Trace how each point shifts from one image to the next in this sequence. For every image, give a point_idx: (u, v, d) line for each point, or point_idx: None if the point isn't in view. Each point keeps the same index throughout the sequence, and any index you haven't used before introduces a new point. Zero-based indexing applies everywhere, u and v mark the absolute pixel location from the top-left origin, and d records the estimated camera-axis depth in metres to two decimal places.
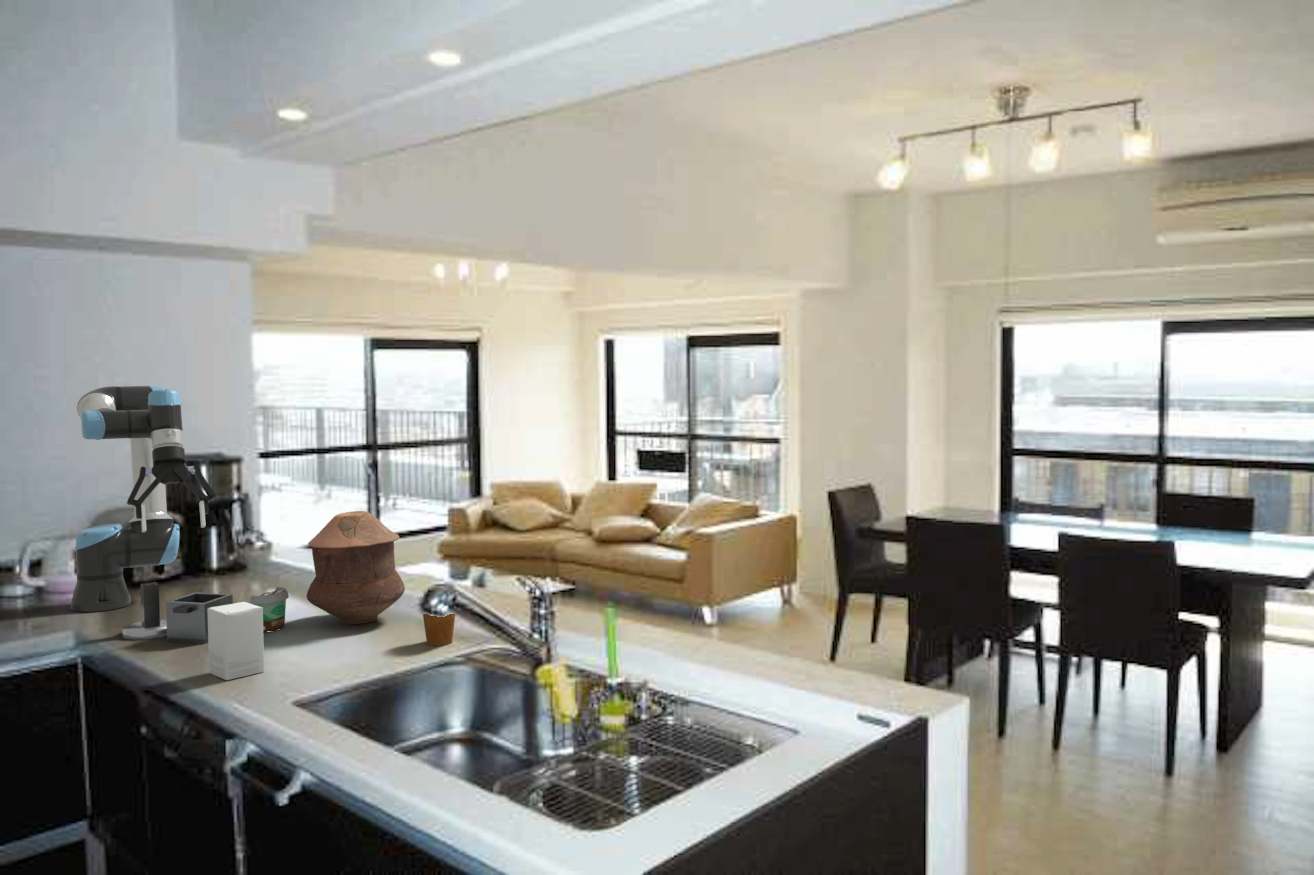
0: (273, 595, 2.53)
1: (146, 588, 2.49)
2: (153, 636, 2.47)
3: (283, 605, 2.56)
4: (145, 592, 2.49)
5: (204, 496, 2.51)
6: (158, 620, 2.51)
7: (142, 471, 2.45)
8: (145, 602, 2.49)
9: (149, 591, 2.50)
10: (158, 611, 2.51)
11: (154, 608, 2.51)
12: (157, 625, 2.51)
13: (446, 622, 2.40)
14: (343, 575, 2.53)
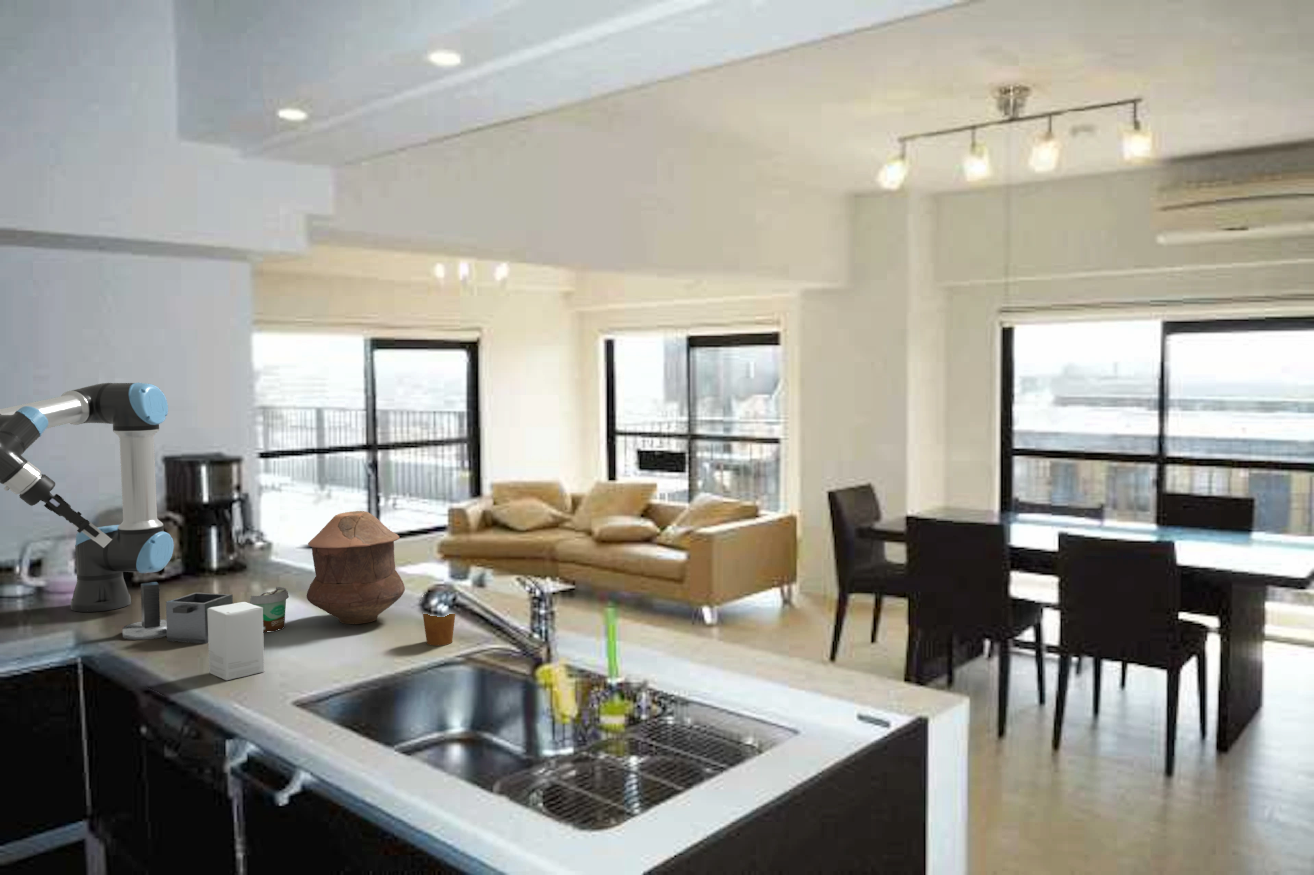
0: (273, 595, 2.53)
1: (146, 588, 2.49)
2: (153, 636, 2.47)
3: (283, 605, 2.56)
4: (145, 592, 2.49)
5: None
6: (158, 620, 2.51)
7: None
8: (145, 602, 2.49)
9: (149, 591, 2.50)
10: (158, 611, 2.51)
11: (154, 608, 2.51)
12: (157, 625, 2.51)
13: (446, 622, 2.40)
14: (343, 575, 2.53)
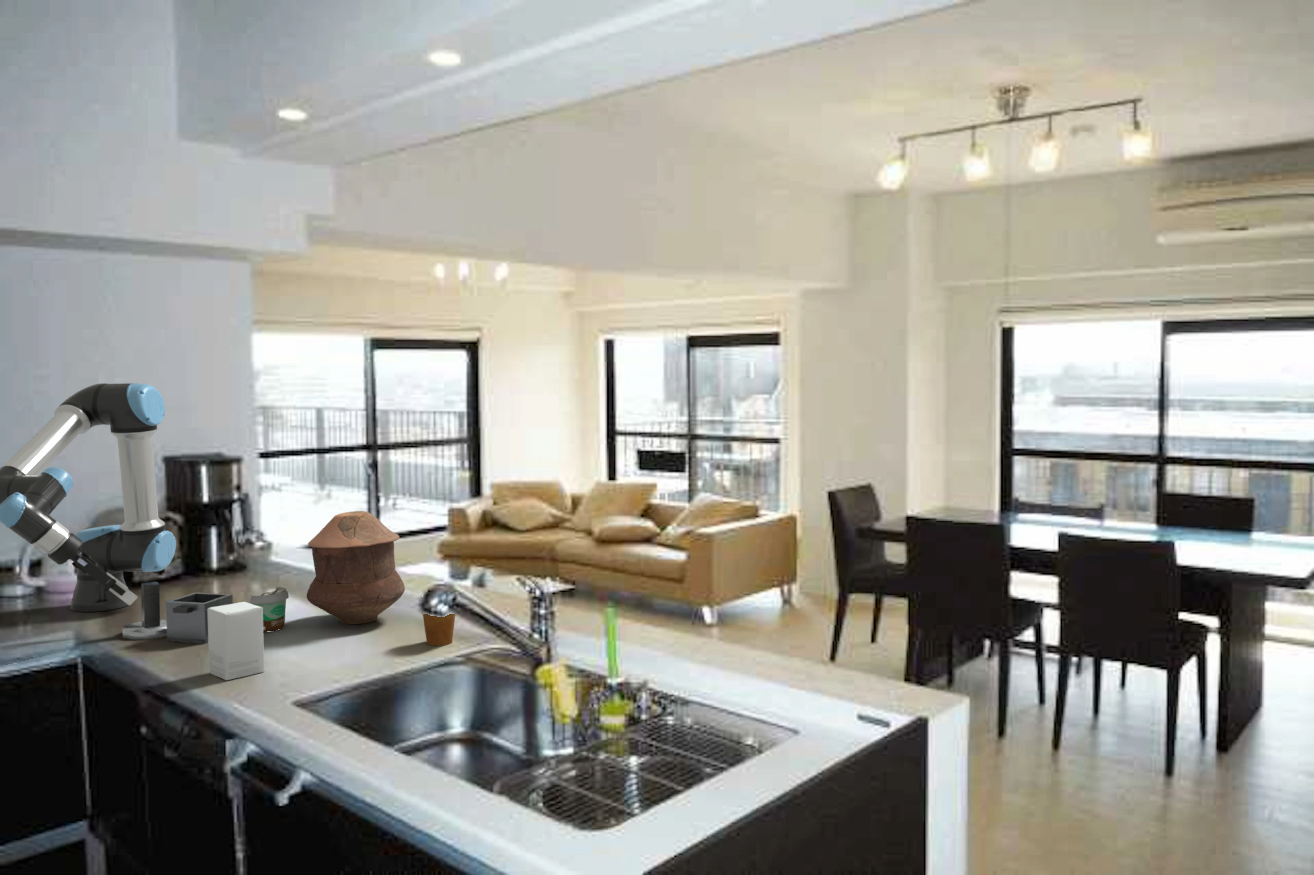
0: (273, 595, 2.53)
1: (147, 588, 2.49)
2: (153, 636, 2.47)
3: (283, 605, 2.56)
4: (145, 592, 2.49)
5: None
6: (158, 620, 2.51)
7: None
8: (145, 602, 2.49)
9: (149, 591, 2.50)
10: (158, 611, 2.51)
11: (154, 608, 2.51)
12: (157, 625, 2.51)
13: (446, 622, 2.40)
14: (343, 575, 2.53)
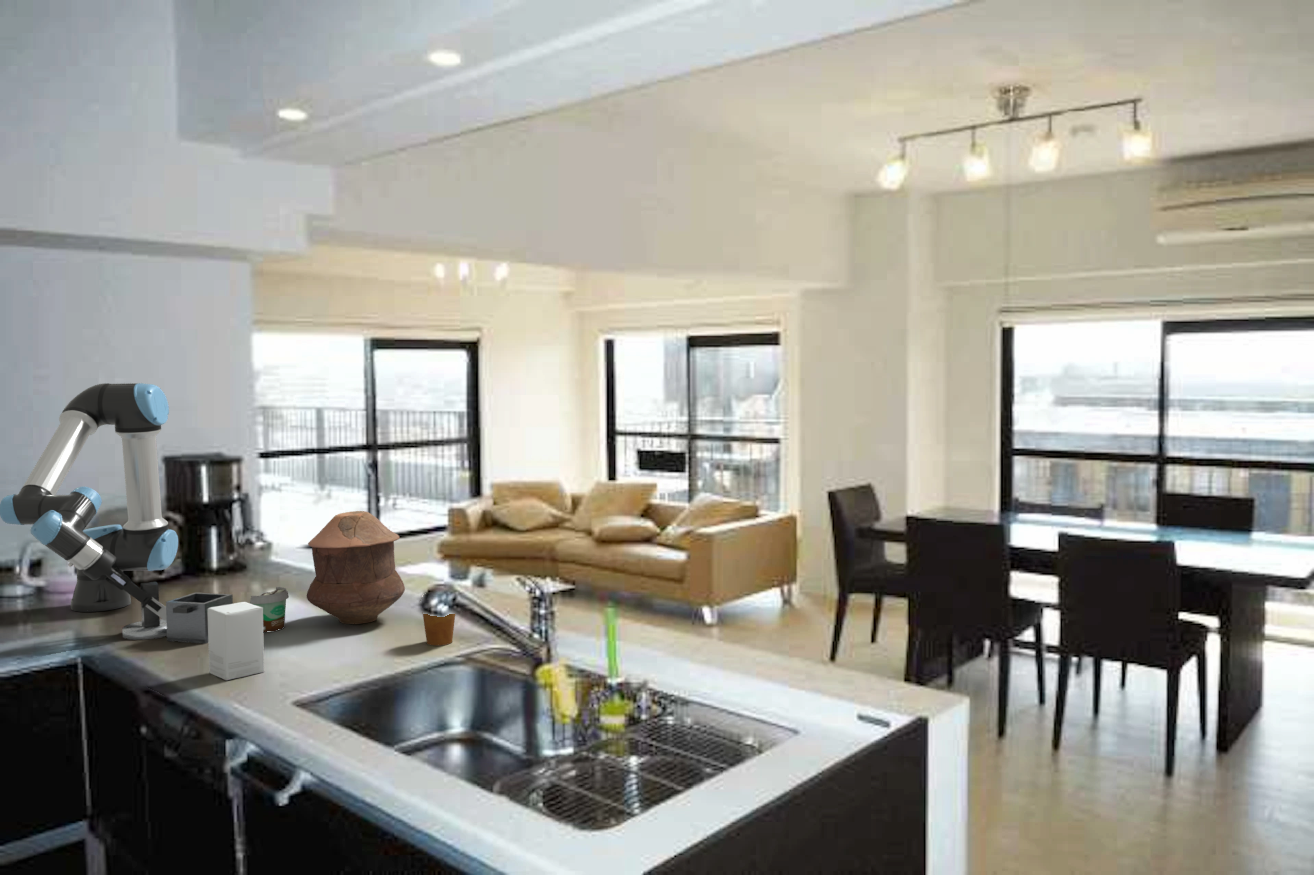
0: (273, 595, 2.53)
1: (146, 588, 2.49)
2: (152, 636, 2.47)
3: (283, 605, 2.56)
4: (145, 592, 2.49)
5: None
6: (158, 620, 2.51)
7: None
8: None
9: (149, 591, 2.50)
10: None
11: None
12: (157, 625, 2.51)
13: (446, 622, 2.40)
14: (343, 575, 2.53)
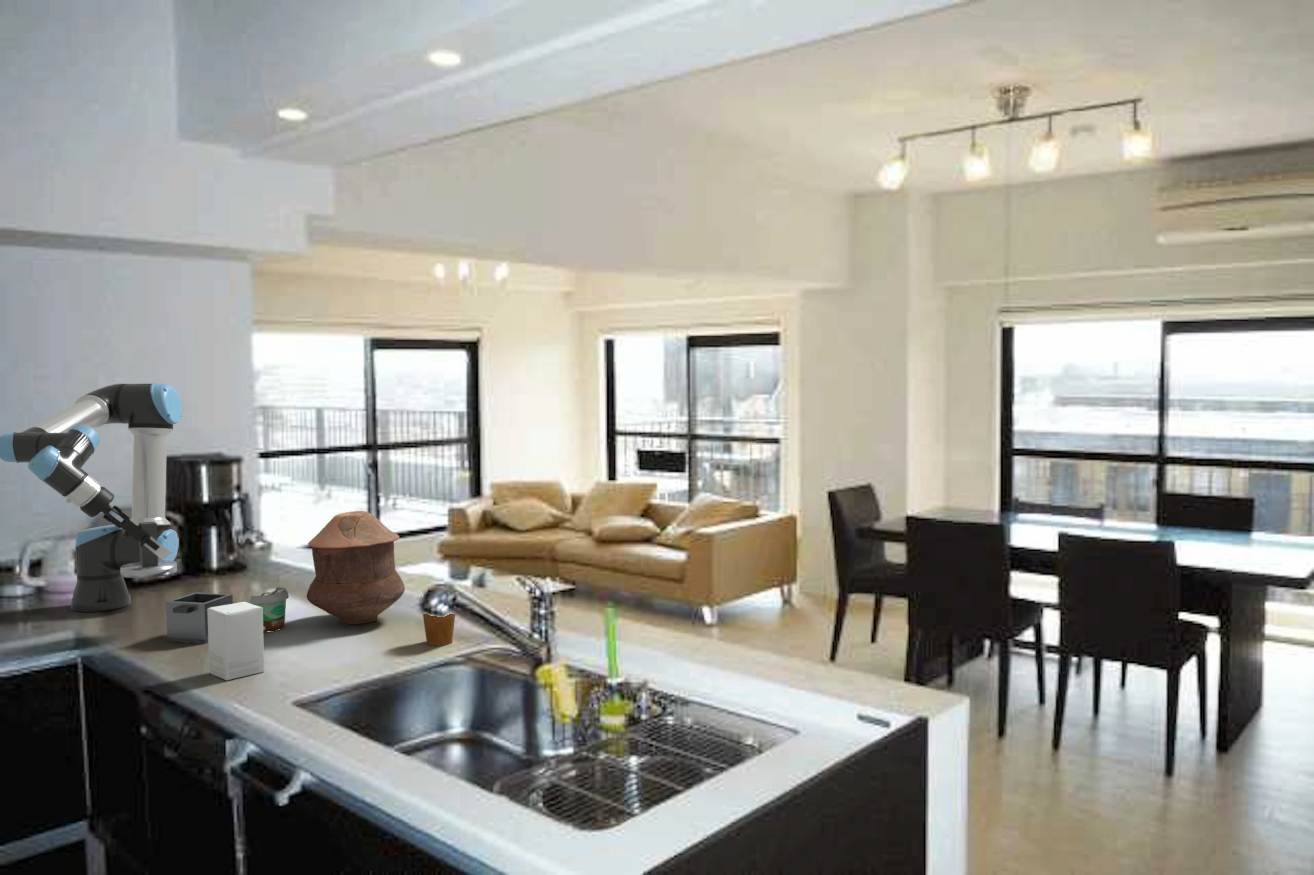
0: (273, 595, 2.53)
1: (144, 527, 2.48)
2: (151, 574, 2.46)
3: (283, 605, 2.56)
4: (143, 530, 2.48)
5: None
6: (156, 559, 2.50)
7: None
8: None
9: (147, 530, 2.49)
10: None
11: None
12: (155, 564, 2.50)
13: (446, 622, 2.40)
14: (343, 575, 2.53)
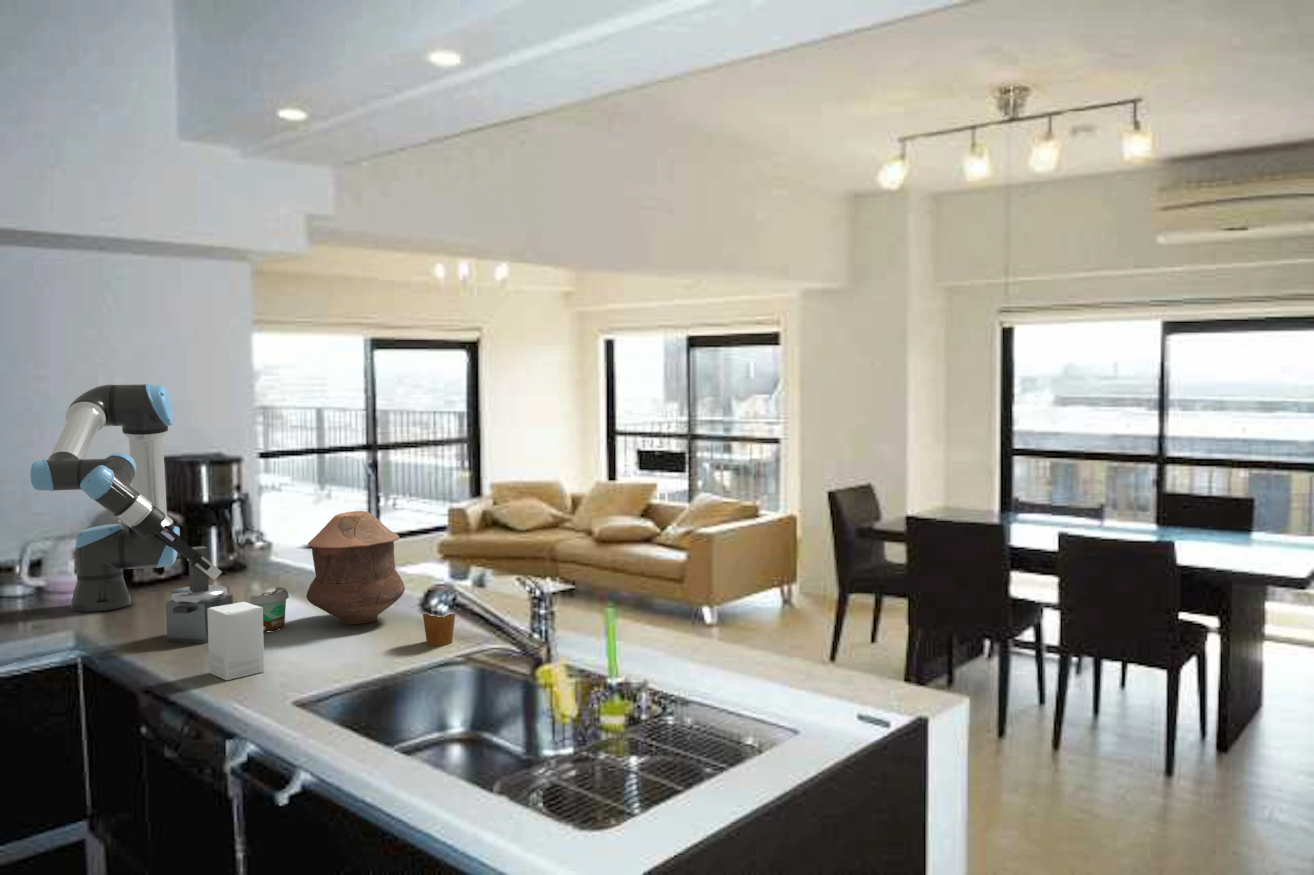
0: (273, 595, 2.53)
1: None
2: (203, 600, 2.43)
3: (283, 605, 2.56)
4: None
5: None
6: (207, 584, 2.47)
7: (156, 535, 2.47)
8: (194, 566, 2.45)
9: None
10: (207, 575, 2.47)
11: (203, 573, 2.47)
12: (206, 589, 2.47)
13: (446, 622, 2.40)
14: (343, 575, 2.53)
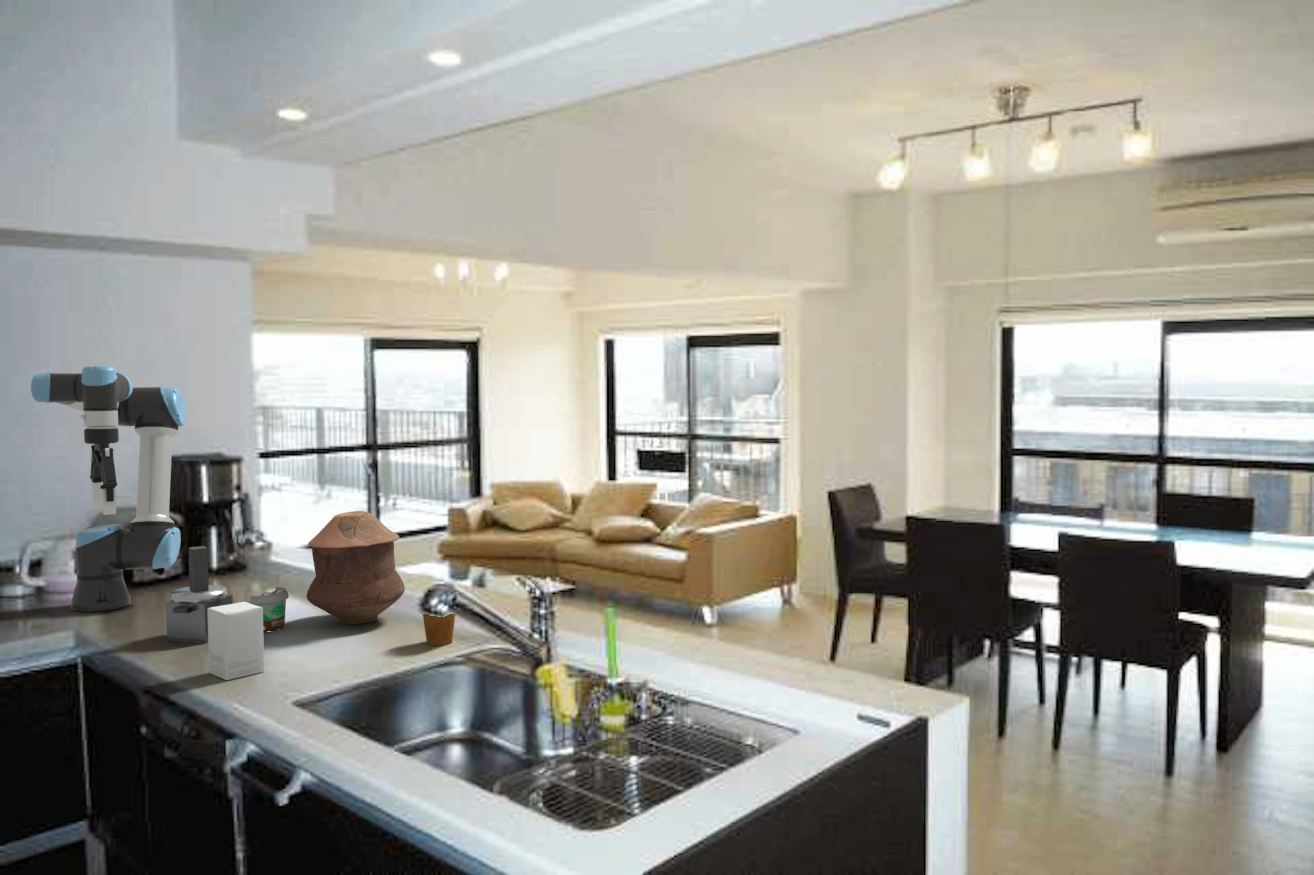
0: (273, 595, 2.53)
1: (195, 552, 2.45)
2: (203, 600, 2.43)
3: (283, 605, 2.56)
4: (194, 556, 2.45)
5: (103, 484, 2.39)
6: (207, 584, 2.47)
7: None
8: (194, 566, 2.45)
9: (198, 555, 2.46)
10: (207, 575, 2.47)
11: (203, 573, 2.47)
12: (206, 589, 2.47)
13: (446, 622, 2.40)
14: (343, 575, 2.53)
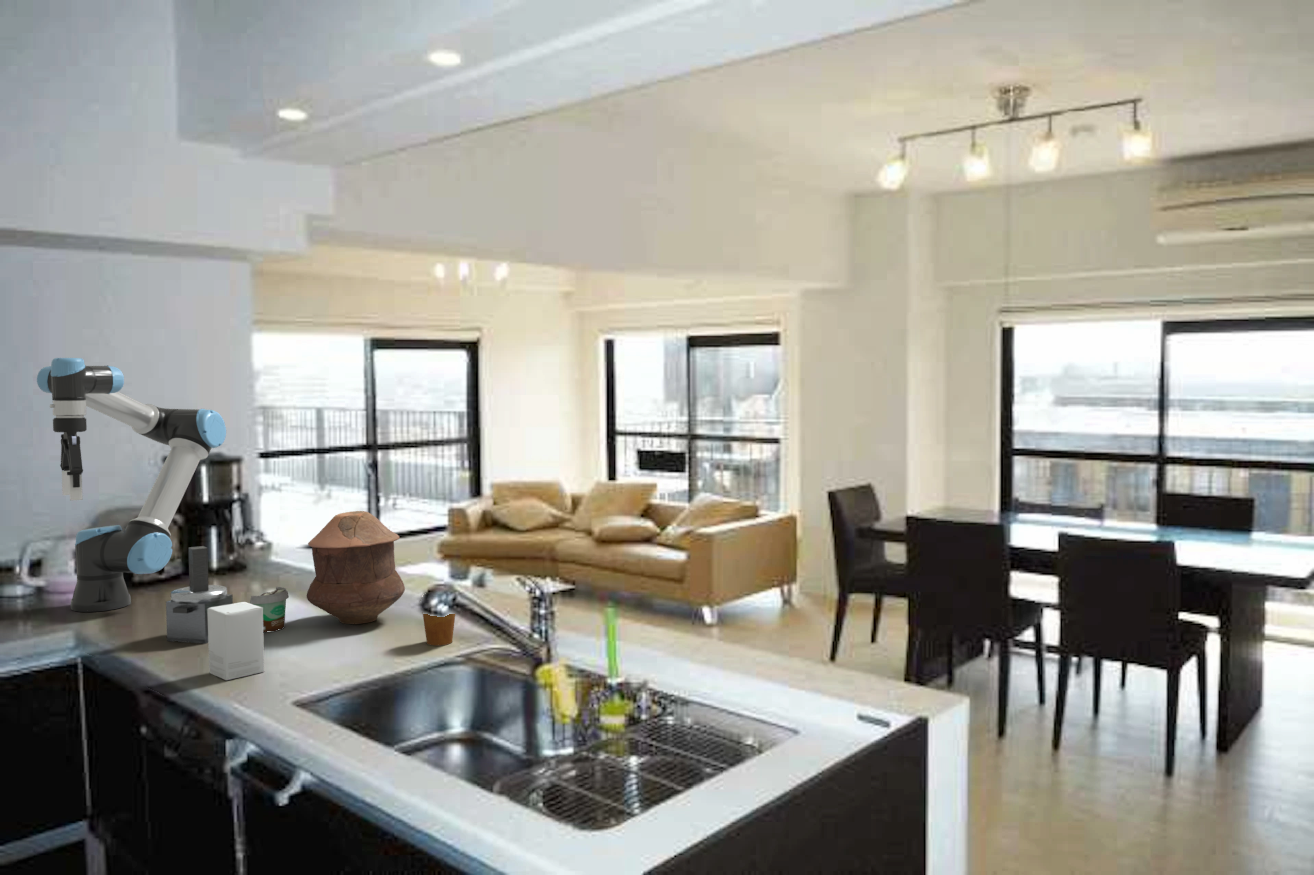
0: (273, 595, 2.53)
1: (195, 552, 2.45)
2: (203, 600, 2.43)
3: (283, 605, 2.56)
4: (194, 556, 2.45)
5: (70, 470, 2.48)
6: (207, 584, 2.47)
7: (61, 439, 2.58)
8: (194, 566, 2.45)
9: (198, 555, 2.46)
10: (207, 575, 2.47)
11: (203, 573, 2.47)
12: (206, 589, 2.47)
13: (446, 622, 2.40)
14: (343, 575, 2.53)
